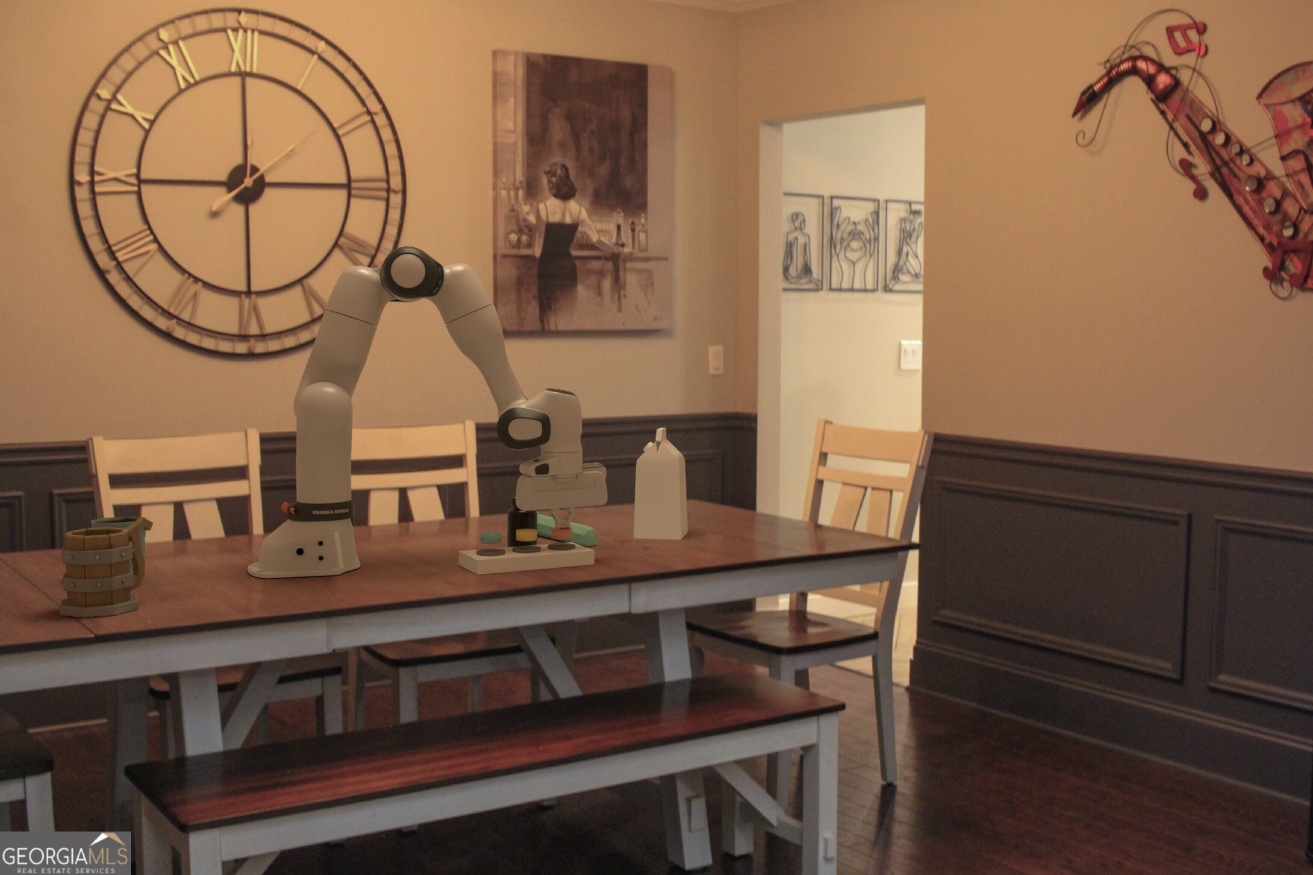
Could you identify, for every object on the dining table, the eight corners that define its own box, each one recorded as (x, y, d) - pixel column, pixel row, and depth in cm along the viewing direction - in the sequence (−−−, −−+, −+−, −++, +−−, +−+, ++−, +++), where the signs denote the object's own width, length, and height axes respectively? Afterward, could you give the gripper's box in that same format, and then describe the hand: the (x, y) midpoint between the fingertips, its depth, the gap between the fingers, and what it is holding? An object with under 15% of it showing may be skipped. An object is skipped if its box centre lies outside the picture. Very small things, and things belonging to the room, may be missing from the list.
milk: (681, 539, 305) (681, 430, 303) (633, 538, 307) (633, 430, 304) (687, 531, 317) (688, 427, 314) (641, 530, 318) (642, 426, 316)
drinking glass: (89, 585, 248) (87, 524, 247) (96, 575, 258) (94, 516, 257) (145, 582, 251) (143, 522, 250) (150, 573, 260) (149, 514, 259)
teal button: (484, 544, 264) (484, 535, 264) (477, 541, 268) (477, 532, 268) (504, 543, 266) (504, 533, 266) (497, 539, 270) (497, 530, 270)
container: (597, 520, 294) (539, 507, 314) (578, 532, 291) (520, 518, 311) (605, 543, 296) (547, 528, 316) (586, 555, 293) (528, 539, 313)
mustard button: (520, 541, 268) (520, 532, 268) (513, 538, 272) (513, 529, 271) (540, 540, 270) (540, 530, 270) (532, 537, 274) (532, 528, 273)
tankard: (99, 620, 218) (96, 533, 217) (43, 614, 223) (40, 528, 222) (182, 597, 237) (180, 517, 236) (129, 592, 241) (127, 513, 240)
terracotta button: (555, 540, 271) (555, 530, 271) (548, 537, 275) (548, 527, 275) (575, 538, 273) (575, 529, 273) (566, 535, 277) (566, 526, 277)
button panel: (477, 574, 260) (477, 557, 260) (458, 565, 270) (458, 548, 270) (594, 564, 272) (594, 547, 271) (571, 555, 282) (571, 539, 282)
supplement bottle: (532, 552, 286) (532, 499, 285) (503, 551, 287) (502, 498, 286) (541, 547, 292) (541, 495, 291) (512, 546, 294) (512, 494, 293)
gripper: (599, 460, 281) (600, 522, 282) (512, 465, 271) (513, 530, 273) (612, 463, 275) (612, 526, 276) (523, 468, 266) (524, 534, 267)
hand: (562, 528), depth 274 cm, fingers closed, pressing on terracotta button
